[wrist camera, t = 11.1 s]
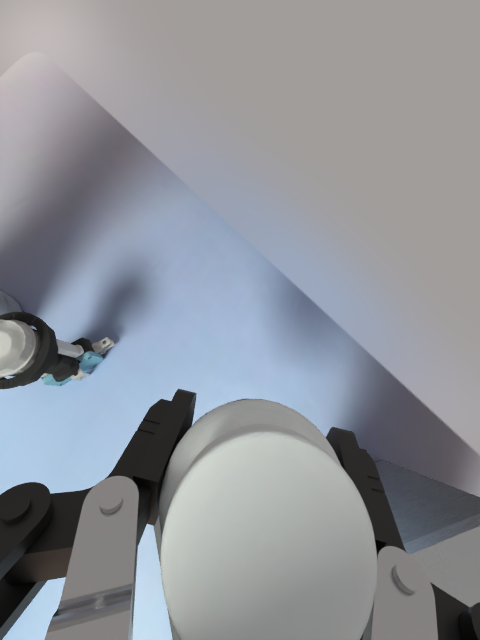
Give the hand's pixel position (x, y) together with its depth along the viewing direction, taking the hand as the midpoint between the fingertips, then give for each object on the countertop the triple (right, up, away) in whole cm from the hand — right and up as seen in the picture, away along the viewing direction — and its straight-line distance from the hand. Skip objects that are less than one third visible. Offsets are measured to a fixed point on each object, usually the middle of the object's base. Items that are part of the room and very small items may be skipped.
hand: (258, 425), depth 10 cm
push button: (-16, 0, +17) cm, 23 cm away
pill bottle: (-1, -3, +4) cm, 5 cm away
